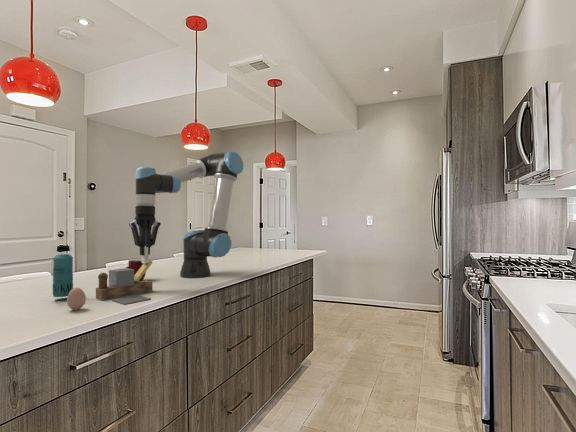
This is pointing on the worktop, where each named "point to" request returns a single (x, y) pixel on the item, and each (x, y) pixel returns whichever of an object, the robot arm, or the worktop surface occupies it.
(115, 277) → the grey block
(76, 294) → the egg
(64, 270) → the beverage bottle
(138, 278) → the lever
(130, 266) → the mug
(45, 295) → the worktop surface
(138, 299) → the pad
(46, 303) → the worktop surface
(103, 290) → the plane body
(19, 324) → the worktop surface
